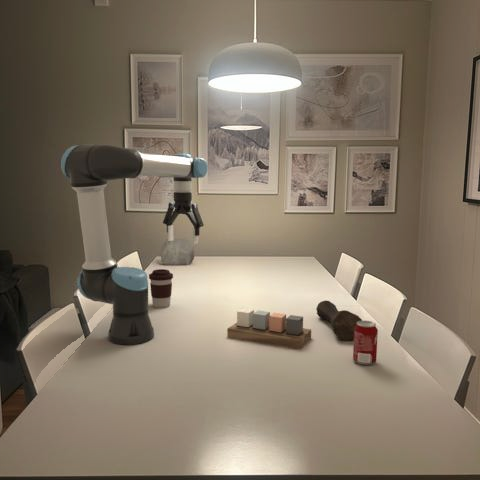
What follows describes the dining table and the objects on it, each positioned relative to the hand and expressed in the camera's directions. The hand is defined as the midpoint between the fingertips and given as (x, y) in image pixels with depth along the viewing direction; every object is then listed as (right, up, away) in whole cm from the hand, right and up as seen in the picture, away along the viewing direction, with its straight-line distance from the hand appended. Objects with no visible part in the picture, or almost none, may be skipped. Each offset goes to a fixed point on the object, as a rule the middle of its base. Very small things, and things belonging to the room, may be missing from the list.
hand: (182, 242), depth 206 cm
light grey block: (+31, -29, -38) cm, 57 cm away
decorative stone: (-14, -14, +88) cm, 91 cm away
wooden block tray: (+34, -32, -39) cm, 61 cm away
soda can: (+61, -36, -60) cm, 93 cm away
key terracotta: (+37, -29, -41) cm, 62 cm away
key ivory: (+26, -29, -36) cm, 53 cm away
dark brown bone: (+59, -32, -30) cm, 73 cm away
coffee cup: (-9, -27, -1) cm, 28 cm away
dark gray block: (+42, -30, -44) cm, 68 cm away
